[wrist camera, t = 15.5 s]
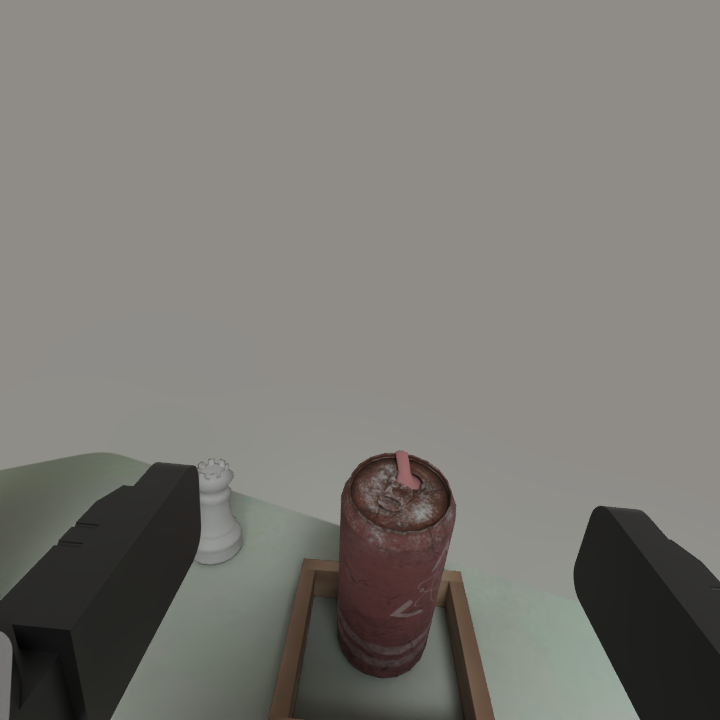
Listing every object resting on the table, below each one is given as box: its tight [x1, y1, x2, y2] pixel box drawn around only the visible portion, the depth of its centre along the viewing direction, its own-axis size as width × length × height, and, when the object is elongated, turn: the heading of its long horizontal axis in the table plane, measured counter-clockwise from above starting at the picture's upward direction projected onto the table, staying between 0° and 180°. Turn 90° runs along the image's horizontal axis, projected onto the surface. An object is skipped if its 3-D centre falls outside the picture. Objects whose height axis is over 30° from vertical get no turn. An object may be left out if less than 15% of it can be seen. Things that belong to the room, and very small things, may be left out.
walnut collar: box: [268, 559, 495, 720], centre depth 27 cm, size 12×12×2 cm
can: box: [337, 451, 456, 678], centre depth 26 cm, size 6×6×14 cm
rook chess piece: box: [194, 459, 243, 565], centre depth 35 cm, size 4×4×8 cm
